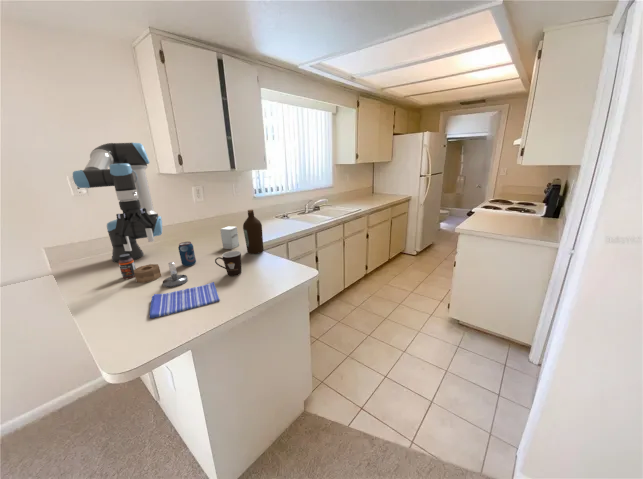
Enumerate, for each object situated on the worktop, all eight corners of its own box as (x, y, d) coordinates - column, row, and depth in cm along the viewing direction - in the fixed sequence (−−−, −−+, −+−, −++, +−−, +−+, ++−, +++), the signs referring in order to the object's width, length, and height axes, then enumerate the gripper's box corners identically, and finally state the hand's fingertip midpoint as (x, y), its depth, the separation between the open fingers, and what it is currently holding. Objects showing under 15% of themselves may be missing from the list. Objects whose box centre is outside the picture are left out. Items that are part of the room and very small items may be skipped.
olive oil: (262, 247, 164) (258, 207, 156) (266, 252, 154) (261, 210, 147) (245, 250, 160) (239, 209, 152) (247, 255, 150) (241, 212, 143)
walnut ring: (131, 282, 123) (128, 272, 121) (147, 273, 132) (145, 264, 131) (150, 282, 122) (147, 272, 120) (165, 273, 131) (163, 264, 129)
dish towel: (153, 300, 107) (151, 293, 106) (215, 285, 117) (214, 279, 116) (149, 321, 92) (147, 314, 91) (220, 302, 103) (219, 296, 102)
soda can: (190, 267, 138) (186, 245, 134) (179, 266, 139) (174, 245, 136) (199, 262, 144) (195, 241, 141) (188, 261, 146) (183, 241, 142)
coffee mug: (247, 270, 130) (244, 251, 127) (236, 278, 122) (233, 257, 119) (227, 268, 134) (224, 249, 131) (216, 275, 126) (212, 255, 123)
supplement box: (232, 249, 163) (229, 229, 159) (222, 248, 166) (219, 229, 162) (239, 245, 170) (237, 226, 166) (230, 244, 172) (227, 226, 168)
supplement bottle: (121, 280, 126) (115, 258, 122) (123, 275, 131) (117, 254, 127) (136, 277, 128) (130, 255, 125) (138, 273, 133) (132, 252, 130)
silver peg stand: (158, 287, 117) (153, 267, 114) (173, 277, 126) (168, 258, 123) (178, 287, 115) (174, 267, 113) (192, 277, 125) (188, 259, 122)
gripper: (111, 204, 104) (125, 255, 110) (156, 195, 127) (166, 238, 133) (94, 205, 105) (109, 255, 111) (143, 196, 128) (153, 238, 134)
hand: (140, 245), depth 122 cm, fingers open, 13 cm apart
